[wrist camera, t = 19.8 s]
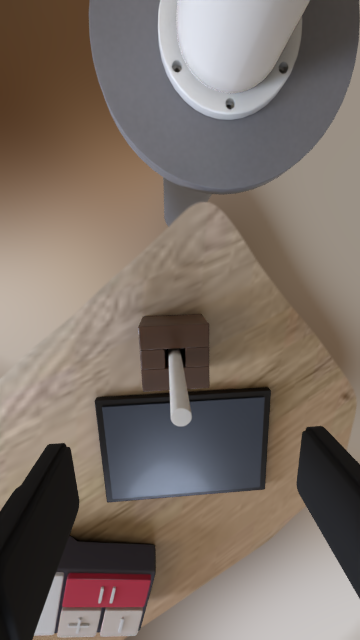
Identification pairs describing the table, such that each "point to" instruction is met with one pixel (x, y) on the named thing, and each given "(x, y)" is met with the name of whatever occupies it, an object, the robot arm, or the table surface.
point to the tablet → (183, 444)
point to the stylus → (178, 390)
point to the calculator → (99, 590)
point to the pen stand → (170, 335)
